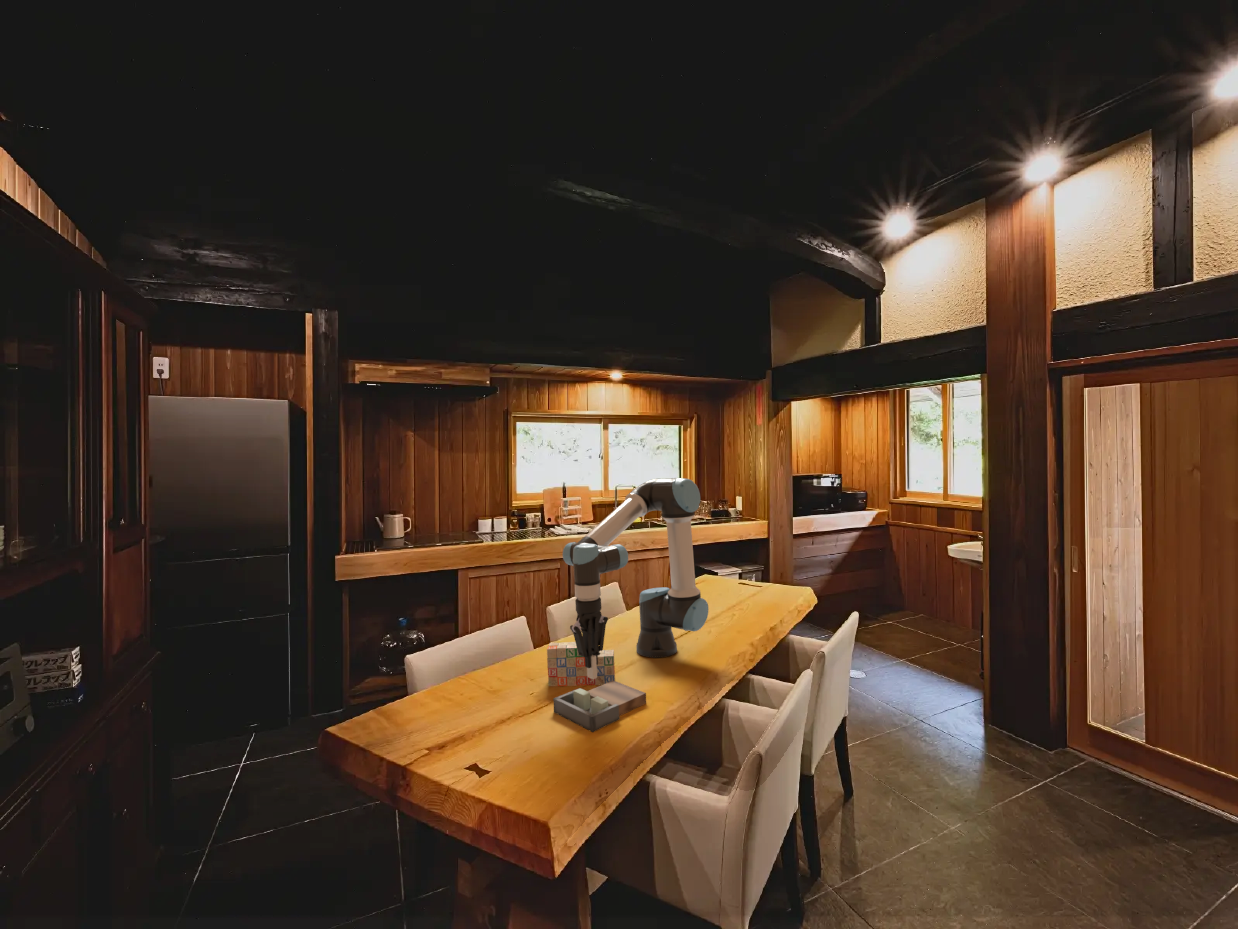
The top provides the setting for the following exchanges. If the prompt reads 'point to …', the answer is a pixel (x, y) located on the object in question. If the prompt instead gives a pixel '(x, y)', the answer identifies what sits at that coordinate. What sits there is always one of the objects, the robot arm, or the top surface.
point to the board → (619, 696)
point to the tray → (584, 713)
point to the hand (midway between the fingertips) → (592, 677)
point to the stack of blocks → (576, 666)
